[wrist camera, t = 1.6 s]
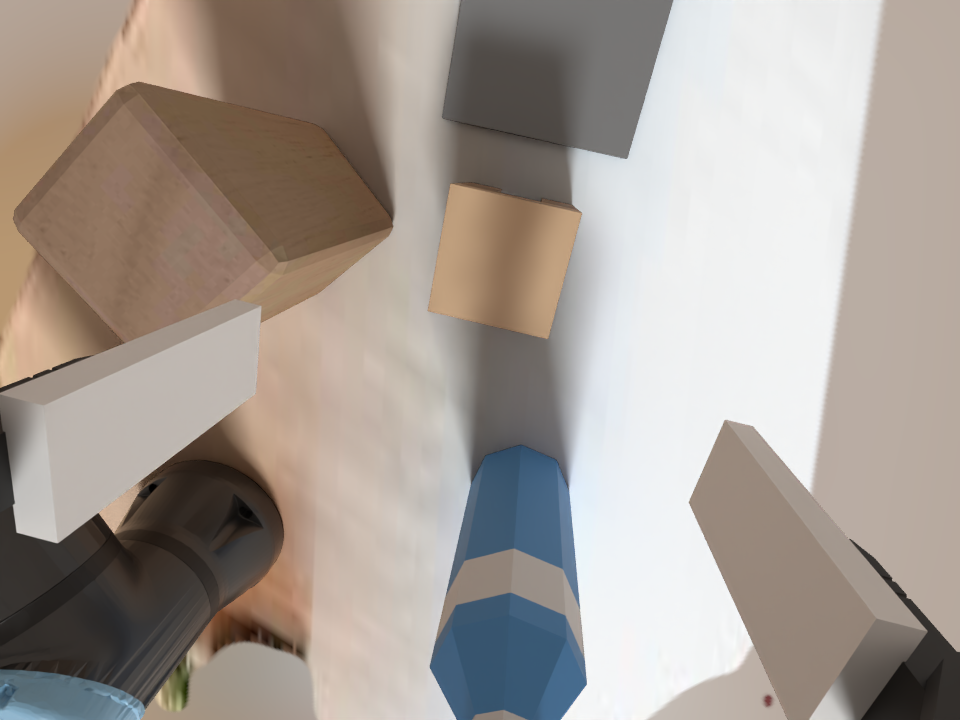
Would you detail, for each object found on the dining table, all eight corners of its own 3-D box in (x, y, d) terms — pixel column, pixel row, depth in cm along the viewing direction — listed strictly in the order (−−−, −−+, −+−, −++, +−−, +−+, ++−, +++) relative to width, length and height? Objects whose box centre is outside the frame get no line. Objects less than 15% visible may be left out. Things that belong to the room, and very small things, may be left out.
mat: (443, 118, 38) (442, 117, 38) (481, -112, 33) (480, -117, 33) (626, 158, 38) (627, 158, 37) (692, -69, 33) (694, -74, 32)
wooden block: (235, 200, 42) (-8, 218, 23) (320, 119, 39) (120, 65, 21) (315, 296, 44) (150, 383, 26) (401, 226, 41) (287, 266, 23)
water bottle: (522, 425, 46) (503, 680, 23) (590, 493, 48) (637, 796, 24) (451, 483, 49) (369, 761, 26) (517, 544, 51) (497, 860, 27)
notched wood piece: (452, 281, 42) (427, 311, 33) (471, 182, 40) (450, 183, 30) (546, 303, 42) (547, 339, 33) (572, 204, 39) (582, 213, 30)
